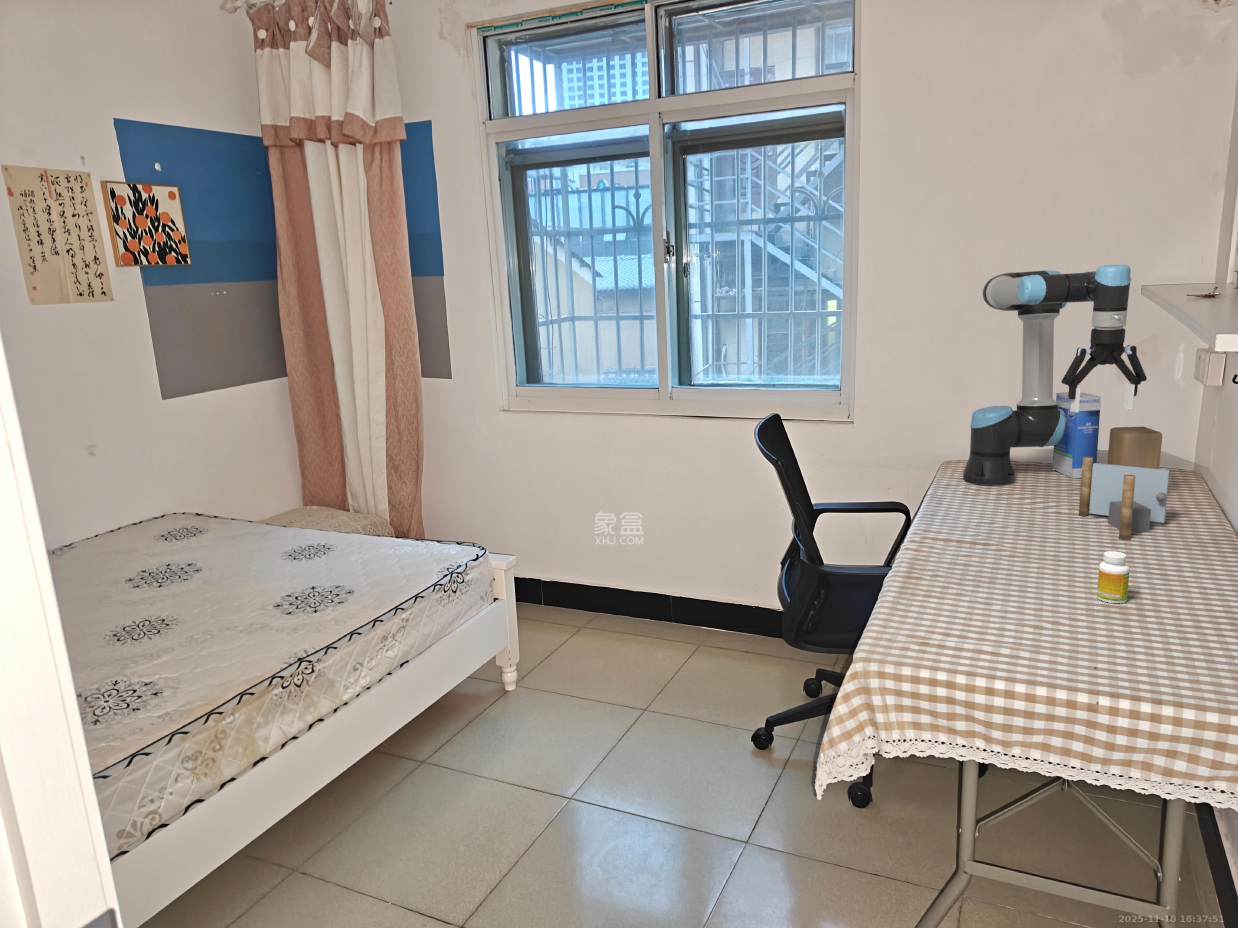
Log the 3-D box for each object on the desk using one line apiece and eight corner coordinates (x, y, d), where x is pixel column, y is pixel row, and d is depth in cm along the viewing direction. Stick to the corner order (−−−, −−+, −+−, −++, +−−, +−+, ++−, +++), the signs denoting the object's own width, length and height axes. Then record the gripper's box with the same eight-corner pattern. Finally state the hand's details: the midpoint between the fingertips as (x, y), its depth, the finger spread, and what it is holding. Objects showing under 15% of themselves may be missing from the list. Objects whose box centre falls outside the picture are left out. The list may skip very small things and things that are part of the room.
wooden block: (1139, 493, 243) (1145, 425, 239) (1157, 502, 234) (1164, 432, 229) (1103, 493, 244) (1108, 427, 240) (1120, 503, 235) (1125, 433, 230)
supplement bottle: (1126, 605, 167) (1130, 560, 165) (1095, 601, 170) (1099, 556, 168) (1127, 596, 171) (1131, 551, 169) (1097, 592, 174) (1100, 548, 172)
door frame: (1077, 514, 227) (1081, 456, 223) (1086, 513, 227) (1090, 456, 223) (1122, 540, 205) (1127, 477, 201) (1132, 540, 204) (1137, 476, 201)
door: (1087, 515, 222) (1091, 465, 219) (1090, 511, 225) (1094, 463, 222) (1162, 524, 211) (1167, 473, 208) (1165, 521, 214) (1169, 470, 211)
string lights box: (1096, 478, 262) (1102, 396, 256) (1072, 479, 262) (1078, 398, 256) (1073, 468, 275) (1078, 390, 269) (1050, 469, 275) (1055, 392, 269)
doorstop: (1108, 523, 218) (1109, 501, 217) (1131, 522, 218) (1133, 500, 216) (1124, 533, 210) (1126, 510, 209) (1148, 532, 210) (1151, 509, 209)
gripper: (1065, 331, 208) (1059, 415, 213) (1168, 326, 207) (1159, 410, 212) (1051, 329, 215) (1045, 409, 220) (1150, 323, 214) (1141, 405, 219)
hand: (1101, 410), depth 216 cm, fingers open, 13 cm apart
